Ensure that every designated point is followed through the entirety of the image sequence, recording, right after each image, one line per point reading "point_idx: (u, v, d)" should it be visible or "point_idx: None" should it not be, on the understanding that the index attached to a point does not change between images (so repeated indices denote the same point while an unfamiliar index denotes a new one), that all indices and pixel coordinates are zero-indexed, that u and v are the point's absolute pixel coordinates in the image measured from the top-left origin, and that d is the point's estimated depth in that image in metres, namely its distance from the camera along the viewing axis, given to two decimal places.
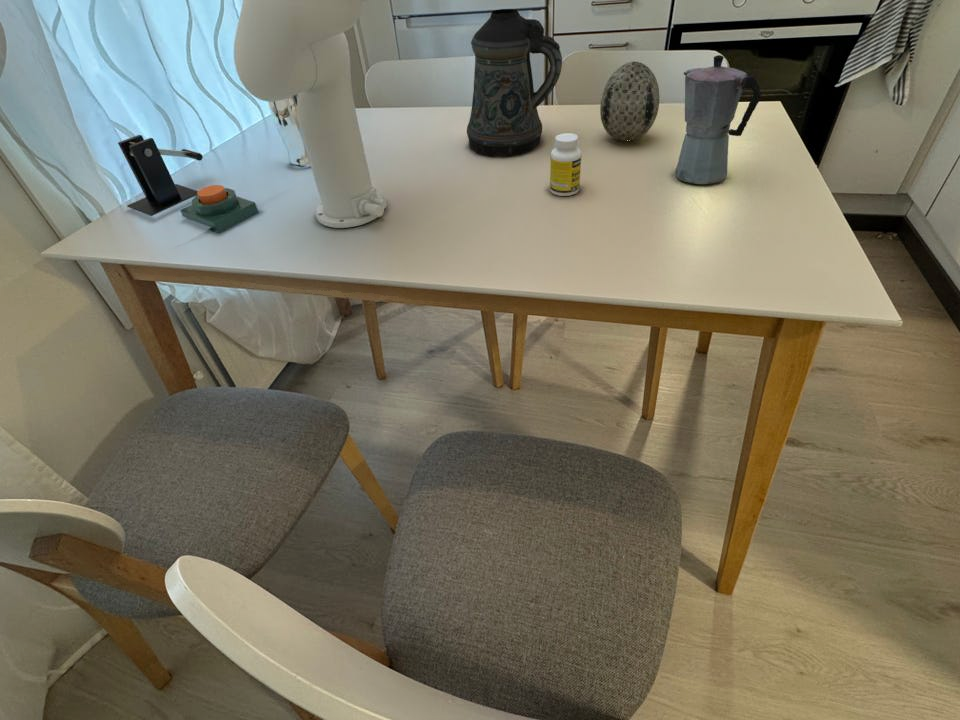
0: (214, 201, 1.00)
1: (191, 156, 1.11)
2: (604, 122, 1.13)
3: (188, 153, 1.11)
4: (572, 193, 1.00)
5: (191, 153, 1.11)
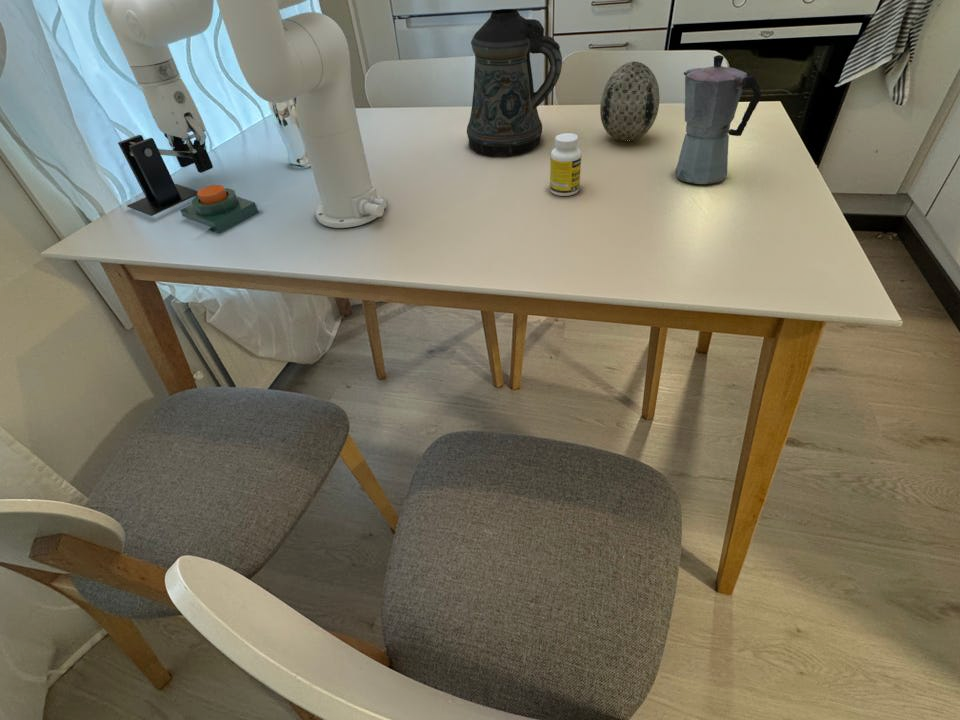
0: (214, 201, 1.00)
1: None
2: (604, 122, 1.13)
3: (188, 153, 1.11)
4: (572, 193, 1.00)
5: None
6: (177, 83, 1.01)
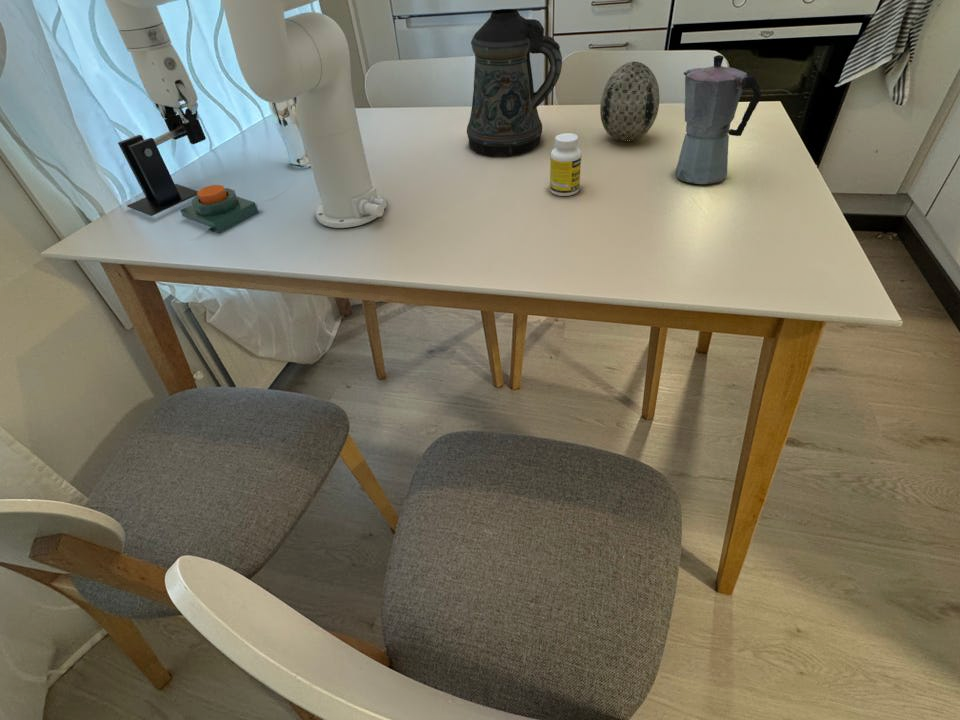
0: (214, 201, 1.00)
1: None
2: (604, 122, 1.13)
3: (181, 129, 1.08)
4: (572, 193, 1.00)
5: None
6: (167, 49, 0.98)
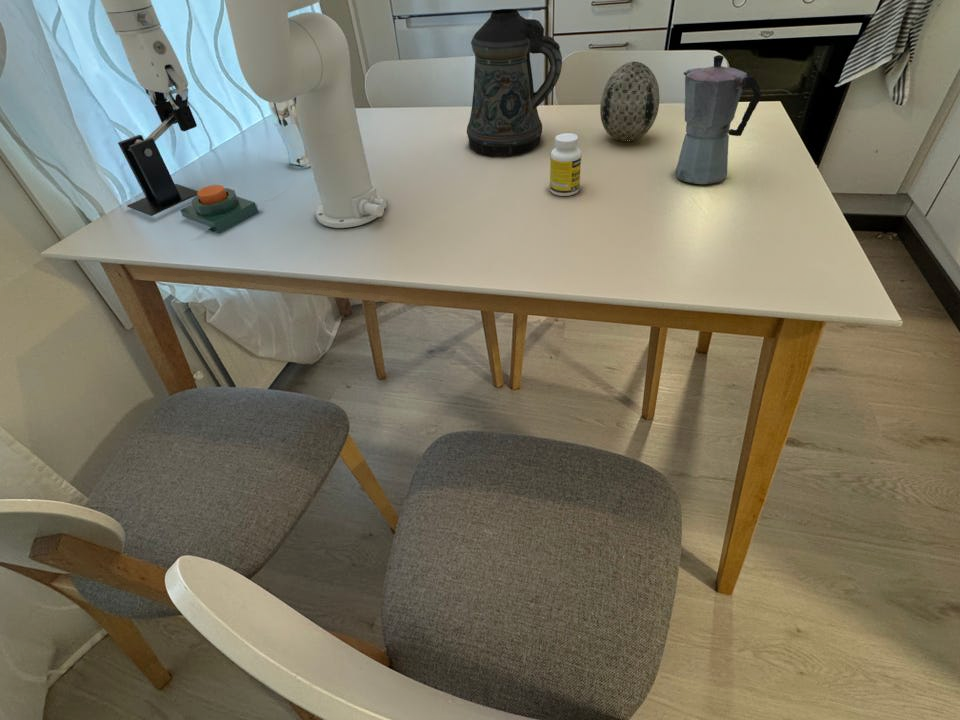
0: (214, 201, 1.00)
1: None
2: (604, 122, 1.13)
3: (173, 117, 1.06)
4: (572, 193, 1.00)
5: None
6: (157, 32, 0.96)
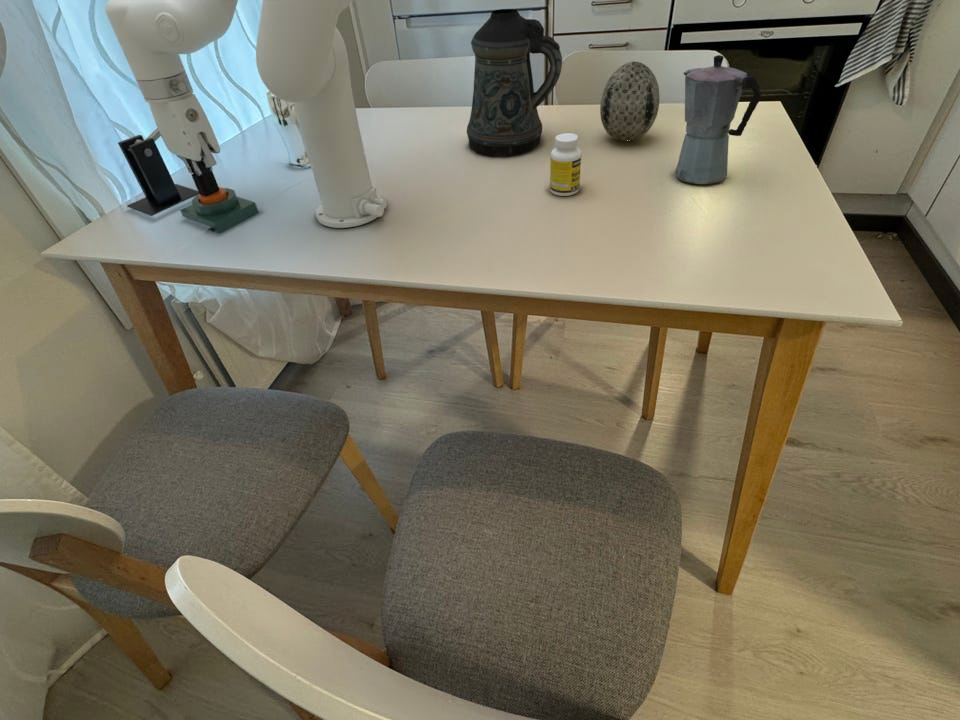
0: None
1: None
2: (604, 122, 1.13)
3: None
4: (572, 193, 1.00)
5: None
6: (189, 99, 0.89)
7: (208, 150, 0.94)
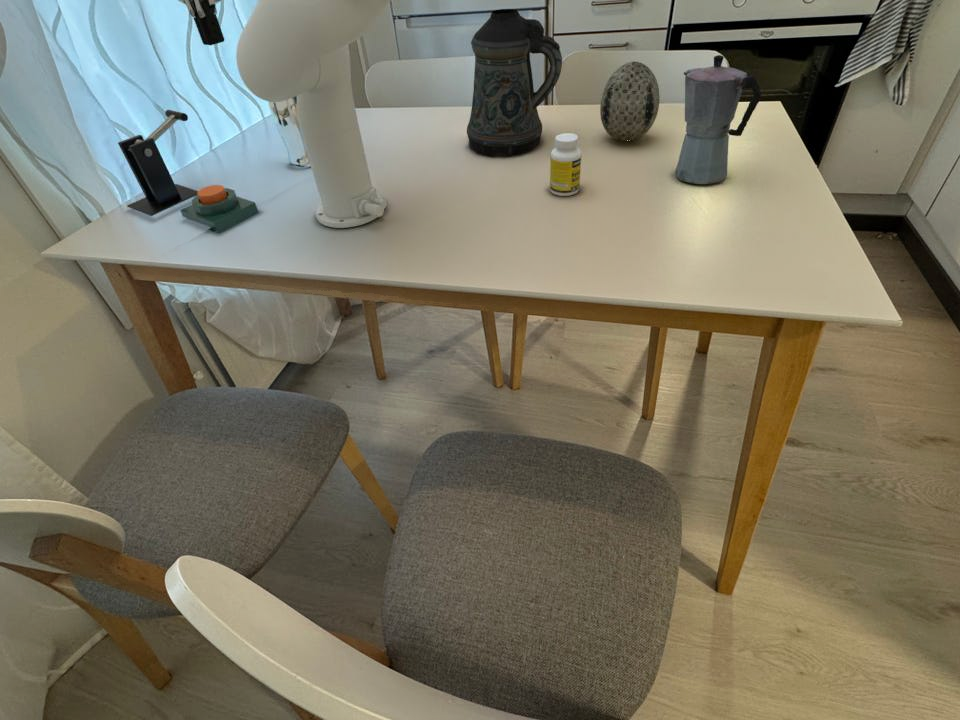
0: (214, 201, 1.00)
1: (178, 119, 1.06)
2: (604, 122, 1.13)
3: (173, 118, 1.06)
4: (572, 193, 1.00)
5: (175, 116, 1.06)
6: None
7: None
